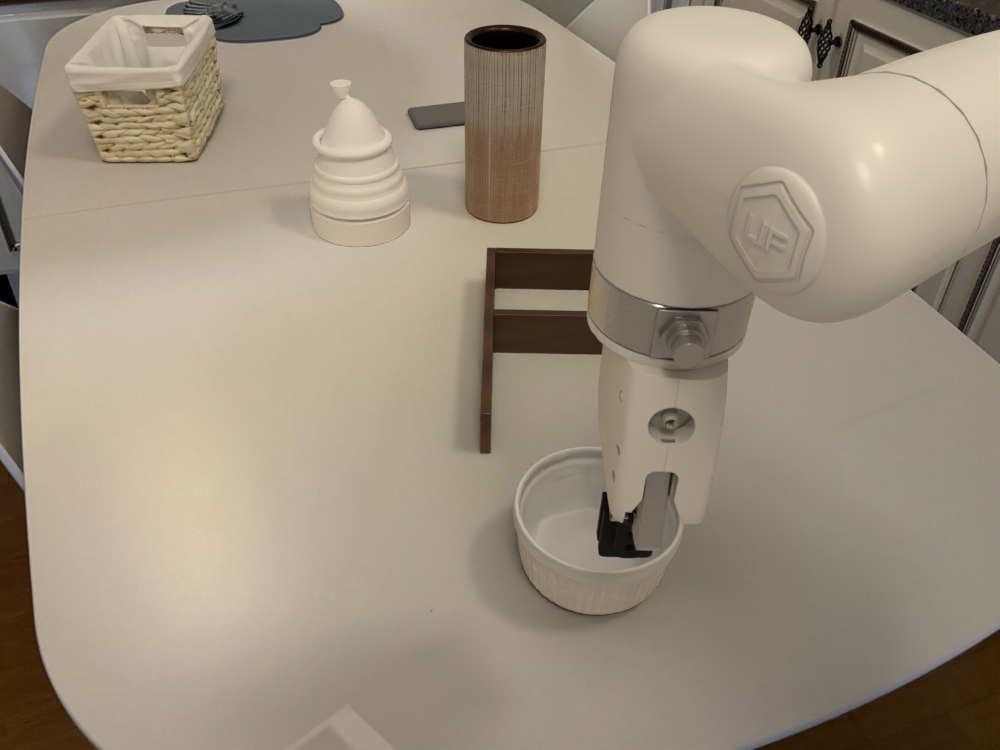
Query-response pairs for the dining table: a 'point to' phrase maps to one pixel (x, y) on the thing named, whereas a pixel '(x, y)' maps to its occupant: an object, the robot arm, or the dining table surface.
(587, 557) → the ramekin
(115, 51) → the basket
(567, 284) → the frame
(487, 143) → the planter
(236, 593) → the dining table surface
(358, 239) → the honey pot
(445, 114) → the smartphone
